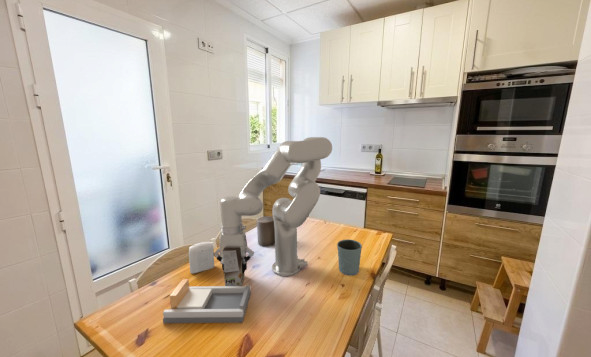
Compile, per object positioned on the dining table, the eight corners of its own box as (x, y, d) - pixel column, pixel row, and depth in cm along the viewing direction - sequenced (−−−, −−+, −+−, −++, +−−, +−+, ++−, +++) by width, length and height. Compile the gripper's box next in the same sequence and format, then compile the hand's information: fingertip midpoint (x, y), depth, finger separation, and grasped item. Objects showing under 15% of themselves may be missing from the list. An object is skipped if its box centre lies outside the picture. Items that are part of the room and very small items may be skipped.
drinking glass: (362, 267, 106) (363, 241, 104) (358, 279, 97) (359, 251, 95) (340, 262, 110) (340, 237, 108) (334, 273, 101) (334, 247, 99)
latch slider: (212, 293, 86) (210, 278, 85) (202, 312, 77) (200, 295, 76) (184, 294, 86) (182, 279, 85) (171, 312, 77) (169, 295, 76)
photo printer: (213, 263, 110) (211, 238, 108) (216, 267, 107) (214, 241, 104) (189, 270, 105) (186, 244, 102) (191, 275, 101) (188, 248, 99)
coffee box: (242, 289, 91) (239, 250, 89) (224, 290, 91) (222, 250, 88) (245, 275, 100) (243, 239, 98) (229, 276, 100) (227, 240, 97)
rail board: (251, 293, 89) (250, 282, 88) (242, 322, 75) (241, 309, 74) (183, 294, 89) (182, 283, 88) (163, 323, 75) (161, 310, 74)
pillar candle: (279, 241, 132) (278, 215, 130) (267, 248, 124) (266, 220, 122) (265, 238, 138) (264, 213, 135) (253, 244, 130) (252, 217, 127)
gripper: (256, 225, 95) (258, 266, 98) (213, 225, 95) (216, 266, 99) (253, 232, 88) (255, 276, 91) (206, 233, 88) (209, 277, 91)
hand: (234, 271), depth 95 cm, fingers closed on coffee box, 6 cm apart
